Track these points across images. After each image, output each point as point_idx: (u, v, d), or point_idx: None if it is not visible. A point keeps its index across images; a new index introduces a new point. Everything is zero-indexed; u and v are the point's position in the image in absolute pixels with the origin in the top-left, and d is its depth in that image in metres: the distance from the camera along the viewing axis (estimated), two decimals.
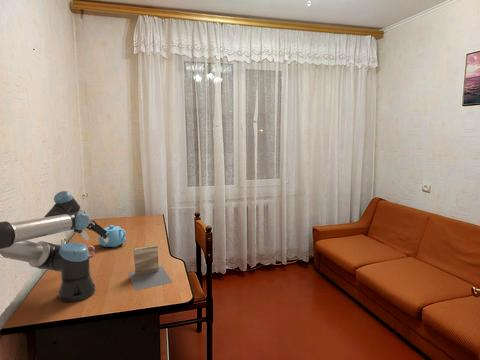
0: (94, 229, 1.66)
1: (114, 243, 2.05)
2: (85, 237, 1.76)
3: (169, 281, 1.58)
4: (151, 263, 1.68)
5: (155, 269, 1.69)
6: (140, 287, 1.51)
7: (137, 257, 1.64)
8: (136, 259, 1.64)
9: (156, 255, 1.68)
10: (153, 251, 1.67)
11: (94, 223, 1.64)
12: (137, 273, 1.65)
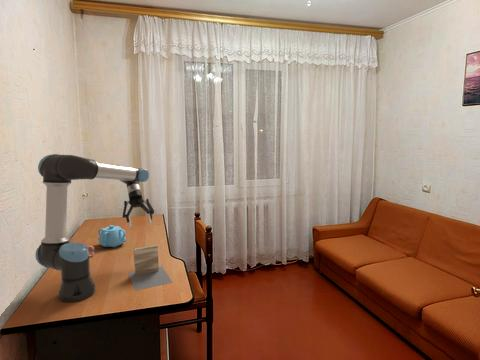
0: (145, 207, 1.84)
1: (114, 243, 2.05)
2: None
3: (169, 281, 1.58)
4: (151, 263, 1.68)
5: (155, 269, 1.69)
6: (140, 287, 1.51)
7: (137, 257, 1.64)
8: (136, 259, 1.64)
9: (156, 255, 1.68)
10: (153, 251, 1.67)
11: None
12: (137, 273, 1.65)
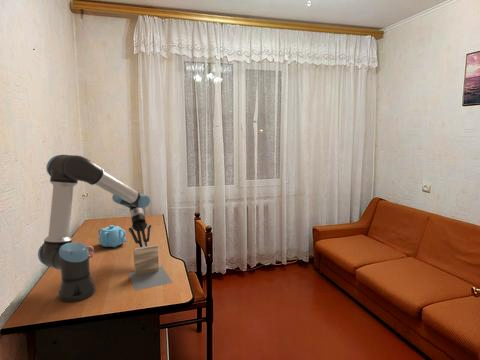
0: (144, 233, 1.81)
1: (114, 243, 2.05)
2: None
3: (169, 281, 1.58)
4: (151, 263, 1.68)
5: (155, 269, 1.69)
6: (140, 287, 1.51)
7: (137, 257, 1.64)
8: (136, 259, 1.64)
9: (156, 255, 1.68)
10: (153, 251, 1.67)
11: (150, 228, 1.85)
12: (137, 273, 1.65)
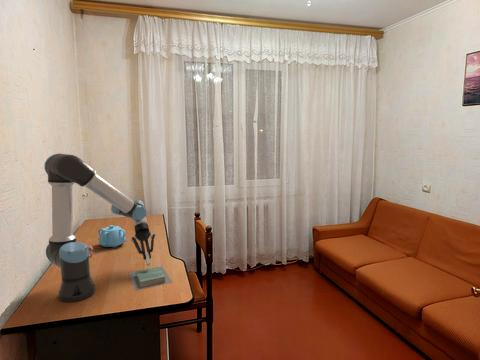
0: (148, 243, 1.72)
1: (114, 243, 2.05)
2: None
3: (169, 281, 1.58)
4: None
5: None
6: (140, 287, 1.51)
7: None
8: None
9: None
10: None
11: (154, 237, 1.76)
12: None
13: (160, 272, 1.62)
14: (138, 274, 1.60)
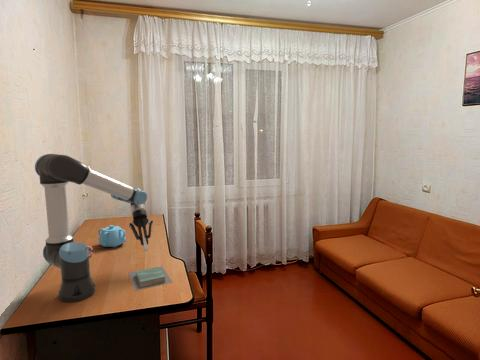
0: None
1: (114, 243, 2.05)
2: None
3: (169, 281, 1.58)
4: None
5: None
6: (140, 287, 1.51)
7: None
8: None
9: None
10: None
11: (151, 224, 1.78)
12: None
13: (160, 272, 1.62)
14: (138, 274, 1.60)
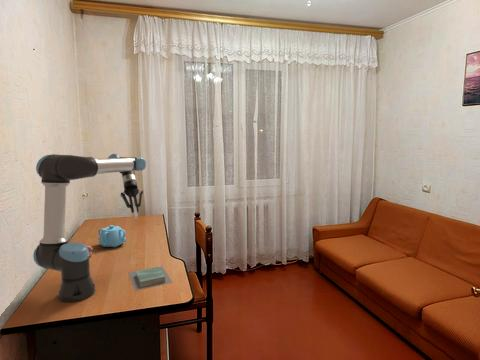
0: (136, 198, 1.82)
1: (114, 243, 2.05)
2: None
3: (169, 281, 1.58)
4: None
5: None
6: (140, 287, 1.51)
7: None
8: None
9: None
10: None
11: (142, 194, 1.86)
12: None
13: (160, 272, 1.62)
14: (138, 274, 1.60)
